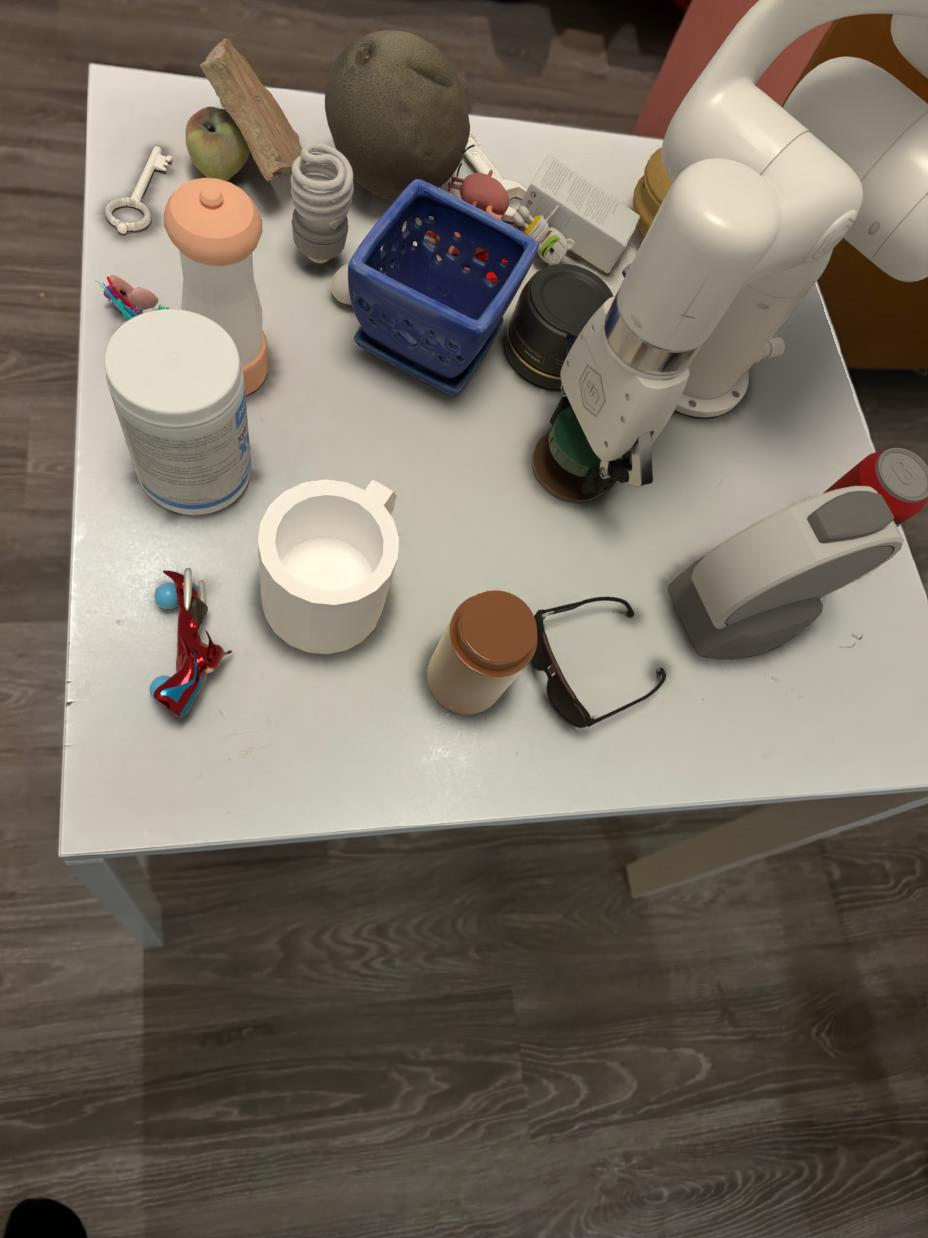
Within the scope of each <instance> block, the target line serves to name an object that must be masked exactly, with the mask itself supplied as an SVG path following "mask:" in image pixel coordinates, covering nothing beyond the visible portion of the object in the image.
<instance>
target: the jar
mask: <svg viewBox="0 0 928 1238" xmlns="http://www.w3.org/2000/svg"><path fill="white" fill-rule="evenodd" d="M614 296H615V295H614V293H613V292H612V290H611V288H610V287H609V286H608V284H607V283H606V282H605V281H604V280H603V279H602V278H601V277H600V276H598V274H596V273H594V272H593V271H591V270H589V269H587V268H585V267H583V266H579V265H576V264H570V263H559V264H555V265H551V266H545V267H543V268H540V269H539V270H537V271H536V272H535V273H534V274H533V275H532V276H531V277H530V278H529V279H528V281H527V282H526V283H525V285H524V286H523V287H522V289H521V291H520V294H519V296H518V299H517V302H516V304H515V307H514V310H513V312H512V313H511V315H510V316H509V319H508V323H507V328H506V331H505V335H504V337H505V338H504V347H505V353H506V356H507V358H508V360H509V362H510V363H511V365H512V366H513V368H514V369H515V371H516V372H517V373H518V374H520V376H522V378H524V379H526V381H529V382H531V383H533V384H534V385H537V386H539V387H542V388H545V389H551V390H561V385H562V382H561V376H560V373H561V369H562V366H563V363H564V361H565V359H566V357H567V354H566V336H567V334H568V333H574V332H579V331H582V329H583V328H584V326H585V325H586V324H587V322H588V321H589V320H590V318H591V317H592V316H593V315H594V314H595V312H596V311H597V310H598V309H599V308H600V307H601V306H602V305H603V304H604V303H605V302H606V301H607V300H608V299H609V298H611V297H614Z"/></svg>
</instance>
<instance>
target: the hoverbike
mask: <svg viewBox="0 0 928 1238" xmlns="http://www.w3.org/2000/svg"><path fill="white" fill-rule="evenodd" d="M162 573H163V574H164V575H166V576H167V577H169V578H170V579H171V580H172V581H173V583H171V582H165V583H161V584H160V585H159V586H157V588H155V591H154V600H155V603H156V604H157V605H158V606H159V607H160V608H162V609H164V610H165V609H166V610H172V609H175V608H177V607H178V609H177V610H178V611H177V623H176V624H177V626H176V659H175V671H176V672H175V673H174V674H173V675H172V676H170V675H160V676H157V677H155V678H154V679H153V680H152V681H151V683H150V684H149V690H148V691H149V694H150V697H151V698H152V699H153V700H154V701H155V702H157V703H159V704H160V705H162V706H163V707H165V708H166V709H167V710H168V711H169V712H170V713H172V714H173V715H175V716H176V717H177V718H180V719H183V718H185V717H186V716H187V715H188V713H189V712H190V709H191V708H192V706H193V704H194V702H195V701H196V699H197V697H198V695H199V694H200V692H201V690H202V689H203V687H204V684H205V681H206V677H207V674H210V673H213V672H215V670H217V669H218V668H219V666H220V664H221V662H222V660H223V658H224V657H225V656H226V655H230V654H232V653H233V650H232V649H229V650H227V651H225V650H224V648H223V647H222V646H221V645H220V644H216V643H214V641H213V640H212V637H211V635H210V634H209V633H210V632H209V631H208V630H207V629H206V628H205V629H204V631H205V634H206V636H207V639H208V644H207V643H205V642H204V641H203V640H202V637H201V636H200V633H199V631H200V628H201V626H202V624H203V621H204V619H206V616H207V614H208V612H209V607H208V604H206V603H207V598H206V597H207V588H206V581H205V580H204V579H200V580H198V583H197V584H196V583H195V582H193V571H192V568H191V567H186V568H184V570H183V573H180V572H178V571H174V570H168V569H167V570H166V569H164V570H162Z"/></svg>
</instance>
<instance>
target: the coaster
mask: <svg viewBox="0 0 928 1238" xmlns="http://www.w3.org/2000/svg"><path fill="white" fill-rule="evenodd" d="M548 444H549V432H548V433H546V434H545V435H543V436H542V437H541V438H540V439H539V440H538V441H537V443H536V444H535V446H534V449H533V451H532V456H531V467H532V471H533V474H534V476H535V478H536V480H537V481H538V483H539V484H540V486H541V487H542V488H543V489H544V490H545V491H546V492H547V493H548V494H550V495H551V496H553V497H555V498H556V499H559V500H561V501H564V502H567V503H572V504H573V503H574V504H582V503H588V502H591V501H595V500H596V499H597V498H599V497H600V496H602V495H603V493H601V494H597V492H596V491H595V492H591V493H587V494H583V493H582V490H581V488H582V487H581V486H582V484H583V483H584V481H585V480H586V478H587V477H580V476H576V475H574V474H572V473H570V472H568V471H567V470H565V469H563V467H561V466H560V465H559V464H558V463H557V461H556V460H555V459H554V458H553V455H552V453H551V451H550V447H549V445H548Z"/></svg>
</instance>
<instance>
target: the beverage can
mask: <svg viewBox="0 0 928 1238" xmlns="http://www.w3.org/2000/svg"><path fill="white" fill-rule="evenodd" d="M851 486H868V487H872V488H873V489H874V490H876V491H877V493H878V494H881V495H882V497H883V499H884V500H885V502H886V504H887V506H888V507H889V509H890V511H891V513H892V514H893V516H894V523H895V524H896V526H897V528H899V527H900V526H901V525H903V524H904V523H906V522H907V521H909V520H910V519H911V518H913V517H914V516H916V515H917V514H918V513H920V512H921V511H922V510H923V509H924V507H925V506H926V503H927V501H928V464H926V462H925V461H924V459H922V458H921V457H920V456H919V455H917V454H916V453H914V452H913V451H911V450H908V449H906V448H903V447H891V448H888V449H886V450H878V451H874V452H871V453H869V454H868V455H866V456H865V457H864V458H863V459H861V460H860V461H859V462H858V463H857V464H855V465H854V466H853V467H852V468H850V469H849V470H848V471H847V472H846V473H844V474H843V475H842V476H841V477H840V478H839V479H837V480H836V481H835V482H833V484H832V485H830V486H829V487H828V488H827V489H825V490H824V491H823V492H822V493H821V494H823V493H826V492H830V491H833V490H836V489H841V488H846V487H851Z"/></svg>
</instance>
